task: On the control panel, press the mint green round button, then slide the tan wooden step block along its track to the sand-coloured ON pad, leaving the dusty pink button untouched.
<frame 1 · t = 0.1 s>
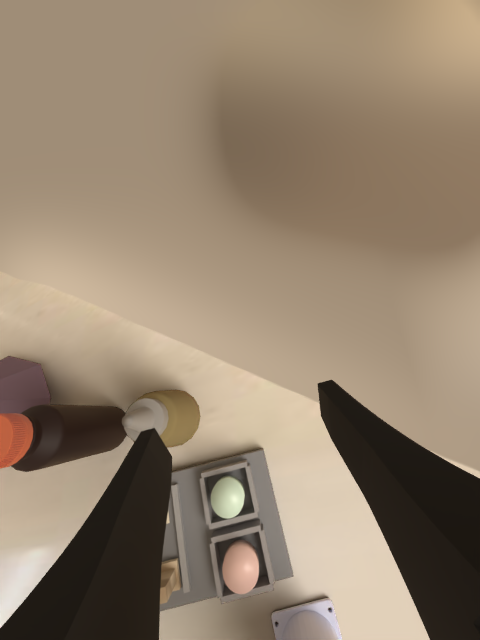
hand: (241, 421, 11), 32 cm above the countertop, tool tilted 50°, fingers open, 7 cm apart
mint button: (228, 495, 34), point 4 cm above the countertop, slide at 0.0 cm
pink button: (240, 565, 31), point 4 cm above the countertop, slide at 0.0 cm
squeeze bottle: (181, 416, 42), on the countertop
panel: (202, 523, 36), on the countertop
flask: (24, 406, 44), on the countertop
tan wooden step block: (154, 587, 31), point 4 cm above the countertop, slide at 0.0 cm
vinegar: (110, 428, 42), on the countertop
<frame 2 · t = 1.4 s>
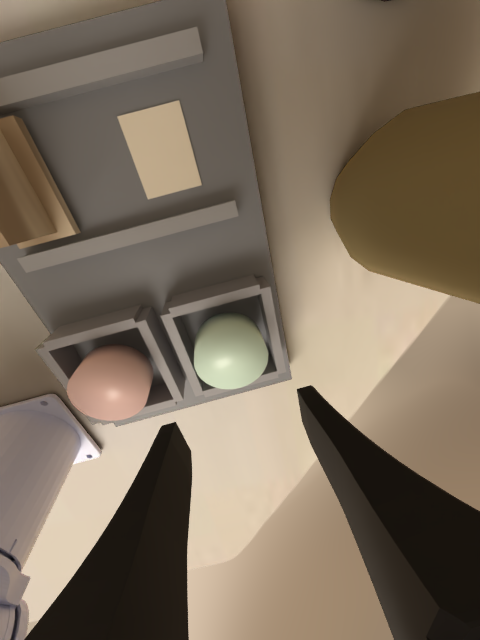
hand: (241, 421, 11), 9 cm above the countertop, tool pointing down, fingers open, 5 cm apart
mint button: (230, 351, 16), point 4 cm above the countertop, slide at 0.0 cm
pink button: (113, 382, 16), point 4 cm above the countertop, slide at 0.0 cm
squeeze bottle: (369, 198, 17), on the countertop
panel: (155, 272, 17), on the countertop
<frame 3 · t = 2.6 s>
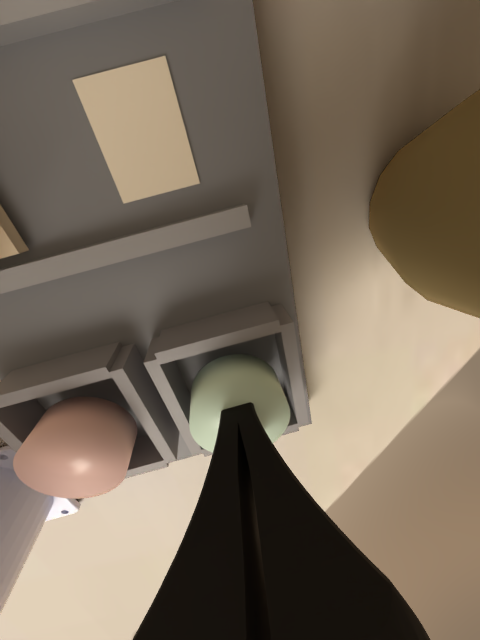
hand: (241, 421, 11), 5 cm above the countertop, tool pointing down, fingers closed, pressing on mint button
mint button: (238, 405, 12), point 4 cm above the countertop, slide at 0.0 cm, touching gripper
pink button: (82, 447, 12), point 4 cm above the countertop, slide at 0.0 cm
squeeze bottle: (419, 201, 13), on the countertop
panel: (140, 297, 13), on the countertop
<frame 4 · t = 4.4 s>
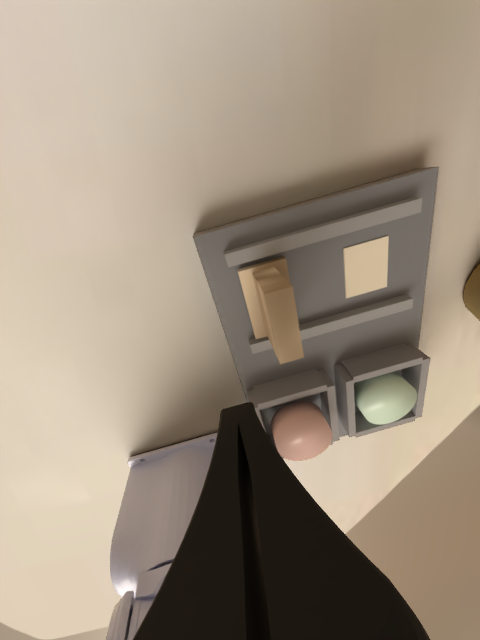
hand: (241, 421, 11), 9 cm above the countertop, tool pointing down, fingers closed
mint button: (382, 396, 21), point 3 cm above the countertop, slide at 1.0 cm
pink button: (300, 431, 20), point 4 cm above the countertop, slide at 0.0 cm
panel: (322, 340, 21), on the countertop
tan wooden step block: (275, 311, 15), point 4 cm above the countertop, slide at 0.0 cm
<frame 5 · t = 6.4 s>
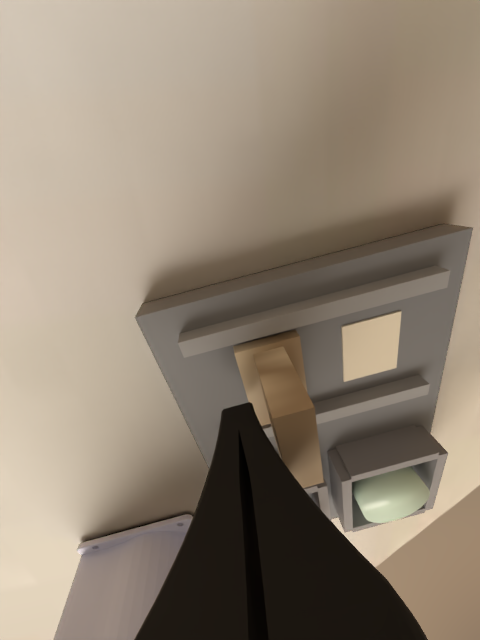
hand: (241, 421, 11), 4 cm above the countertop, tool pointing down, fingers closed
mint button: (386, 488, 17), point 3 cm above the countertop, slide at 1.0 cm
panel: (313, 417, 17), on the countertop
tan wooden step block: (284, 409, 11), point 4 cm above the countertop, slide at 1.7 cm, touching gripper
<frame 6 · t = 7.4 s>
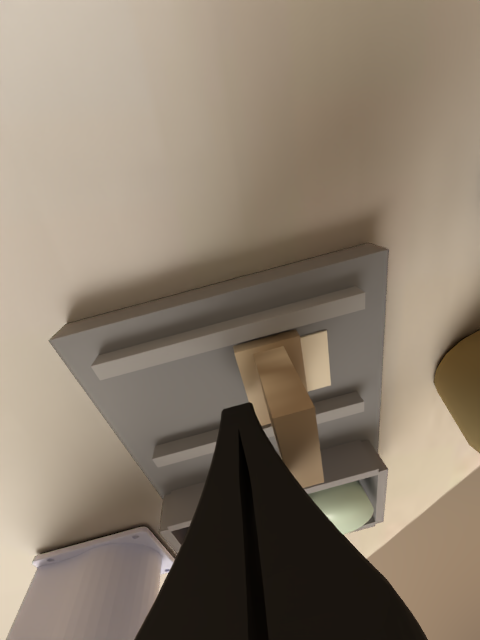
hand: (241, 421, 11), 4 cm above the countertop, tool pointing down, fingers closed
mint button: (333, 502, 17), point 3 cm above the countertop, slide at 1.0 cm
squeeze bottle: (470, 360, 17), on the countertop
panel: (260, 431, 17), on the countertop
tan wooden step block: (284, 409, 11), point 4 cm above the countertop, slide at 5.4 cm, touching gripper
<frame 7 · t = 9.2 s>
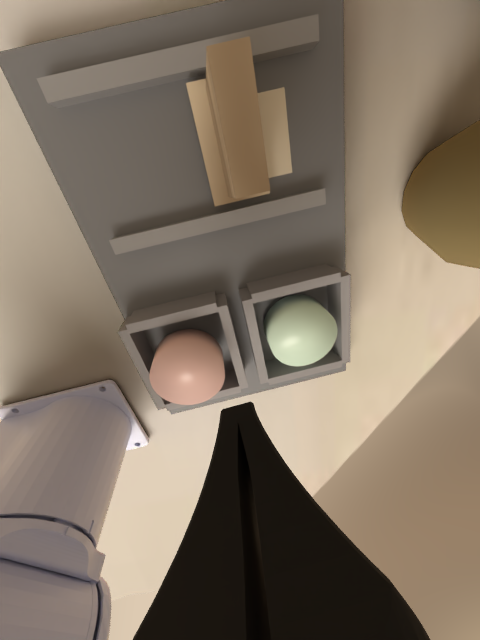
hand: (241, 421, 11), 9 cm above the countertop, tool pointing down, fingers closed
mint button: (298, 330, 17), point 3 cm above the countertop, slide at 1.0 cm
pink button: (188, 367, 16), point 4 cm above the countertop, slide at 0.0 cm
squeeze bottle: (439, 192, 17), on the countertop
panel: (227, 259, 17), on the countertop
tan wooden step block: (235, 137, 11), point 4 cm above the countertop, slide at 5.4 cm
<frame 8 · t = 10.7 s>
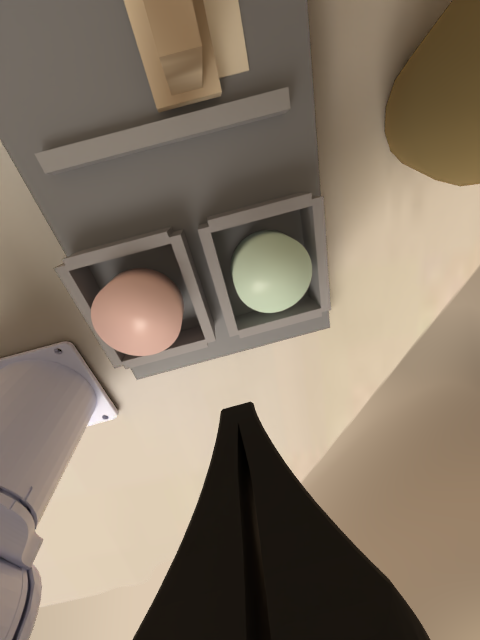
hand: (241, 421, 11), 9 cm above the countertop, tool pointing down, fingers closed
mint button: (269, 271, 15), point 3 cm above the countertop, slide at 1.0 cm
pink button: (141, 312, 14), point 4 cm above the countertop, slide at 0.0 cm
squeeze bottle: (427, 109, 15), on the countertop
panel: (186, 193, 15), on the countertop
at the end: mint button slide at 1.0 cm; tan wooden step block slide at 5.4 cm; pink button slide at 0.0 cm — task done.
